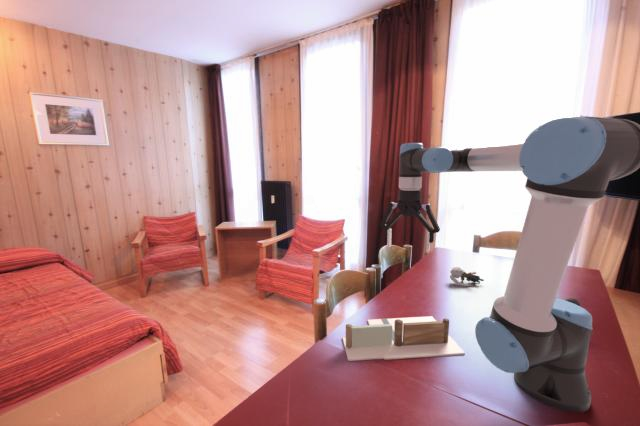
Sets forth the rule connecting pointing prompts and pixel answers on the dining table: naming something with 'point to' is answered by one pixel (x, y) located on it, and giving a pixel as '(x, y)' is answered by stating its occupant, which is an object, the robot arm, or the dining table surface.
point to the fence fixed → (421, 332)
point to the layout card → (404, 350)
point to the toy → (463, 276)
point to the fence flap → (368, 335)
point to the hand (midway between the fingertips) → (408, 249)
